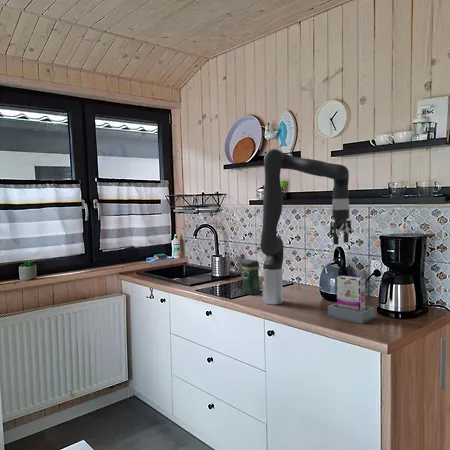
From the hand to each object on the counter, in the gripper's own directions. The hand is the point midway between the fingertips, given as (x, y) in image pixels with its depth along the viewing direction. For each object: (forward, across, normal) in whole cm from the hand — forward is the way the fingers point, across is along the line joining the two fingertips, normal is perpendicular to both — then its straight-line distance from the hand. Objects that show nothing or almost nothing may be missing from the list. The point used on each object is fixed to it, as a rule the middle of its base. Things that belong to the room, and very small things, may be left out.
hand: (341, 243), depth 194 cm
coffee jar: (+30, +7, -52) cm, 61 cm away
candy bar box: (+29, +11, +11) cm, 33 cm away
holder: (+30, +12, +12) cm, 34 cm away
